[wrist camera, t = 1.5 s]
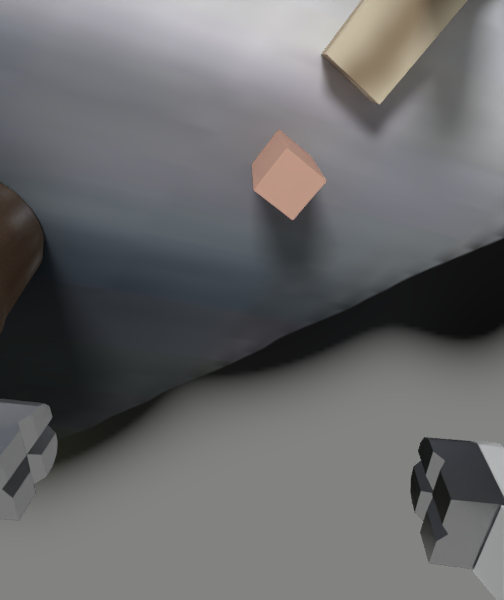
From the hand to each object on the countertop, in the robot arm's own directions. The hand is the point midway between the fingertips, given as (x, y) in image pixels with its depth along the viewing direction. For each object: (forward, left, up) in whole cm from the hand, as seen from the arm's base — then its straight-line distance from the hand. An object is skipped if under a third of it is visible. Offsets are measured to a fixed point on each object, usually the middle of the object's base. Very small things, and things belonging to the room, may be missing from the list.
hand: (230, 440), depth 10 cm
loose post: (+4, +1, -36) cm, 37 cm away
